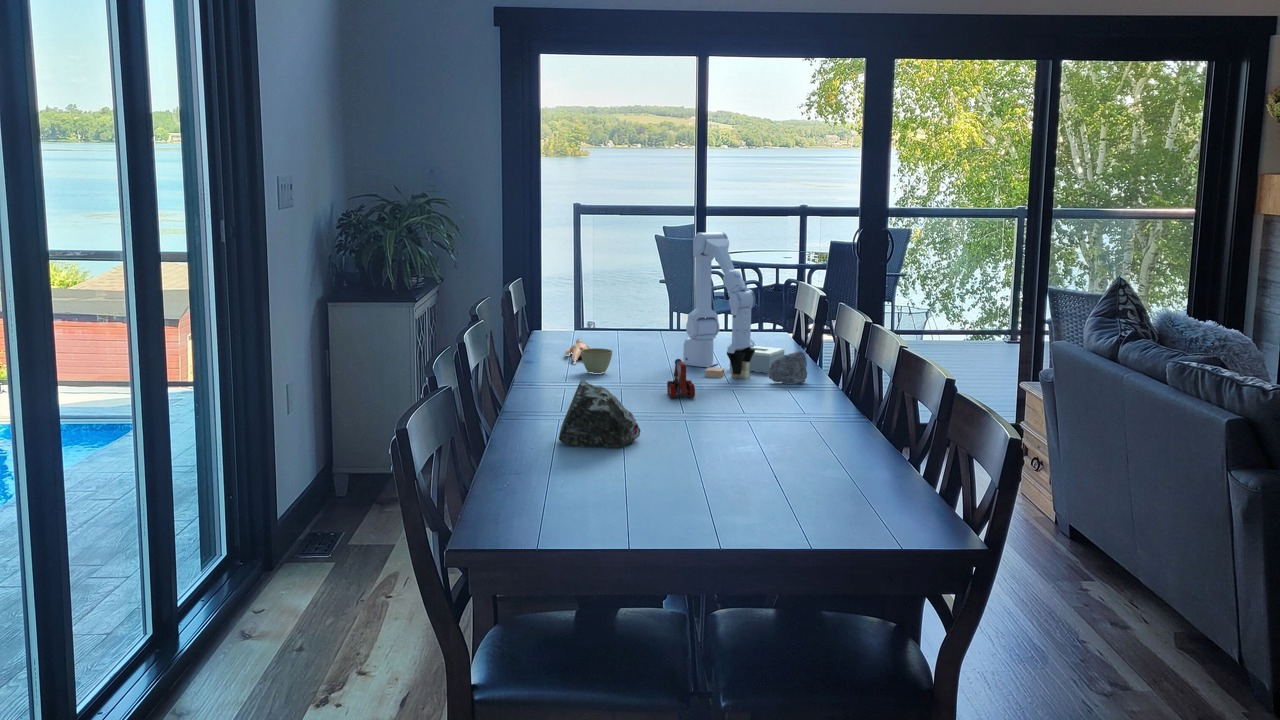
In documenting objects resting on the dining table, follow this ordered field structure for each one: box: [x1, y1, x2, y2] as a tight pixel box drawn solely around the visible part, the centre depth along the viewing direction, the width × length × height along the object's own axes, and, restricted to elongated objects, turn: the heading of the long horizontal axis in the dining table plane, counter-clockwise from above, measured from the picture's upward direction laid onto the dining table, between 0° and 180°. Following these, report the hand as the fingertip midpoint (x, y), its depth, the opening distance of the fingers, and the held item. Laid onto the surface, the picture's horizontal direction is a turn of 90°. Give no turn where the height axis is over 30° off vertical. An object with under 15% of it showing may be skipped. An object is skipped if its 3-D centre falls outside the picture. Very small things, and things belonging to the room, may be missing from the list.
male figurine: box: [564, 338, 591, 362], centre depth 368 cm, size 11×5×25 cm
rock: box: [767, 350, 808, 384], centre depth 328 cm, size 12×5×10 cm, turn 87°
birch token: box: [730, 361, 750, 380], centre depth 336 cm, size 5×2×5 cm, turn 58°
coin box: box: [729, 345, 785, 374], centre depth 351 cm, size 14×11×6 cm
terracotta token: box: [704, 366, 725, 379], centre depth 339 cm, size 5×5×2 cm
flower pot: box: [580, 347, 613, 373], centre depth 341 cm, size 10×10×7 cm
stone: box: [558, 379, 641, 449], centre depth 255 cm, size 19×18×15 cm
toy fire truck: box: [666, 358, 696, 400], centre depth 308 cm, size 7×12×10 cm, turn 6°
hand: (740, 372), depth 337 cm, fingers open, 4 cm apart
